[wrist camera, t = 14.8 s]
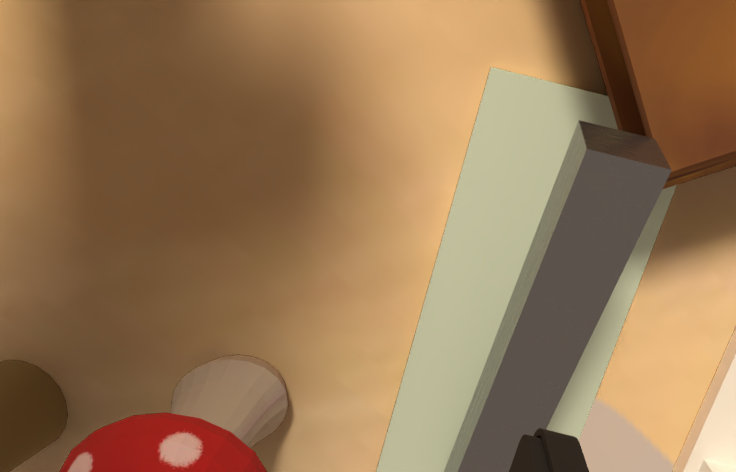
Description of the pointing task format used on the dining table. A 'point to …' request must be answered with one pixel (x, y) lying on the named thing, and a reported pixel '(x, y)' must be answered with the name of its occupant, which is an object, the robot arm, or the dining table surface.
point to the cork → (27, 412)
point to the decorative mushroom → (194, 424)
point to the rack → (714, 423)
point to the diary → (671, 77)
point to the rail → (561, 290)
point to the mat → (501, 267)
